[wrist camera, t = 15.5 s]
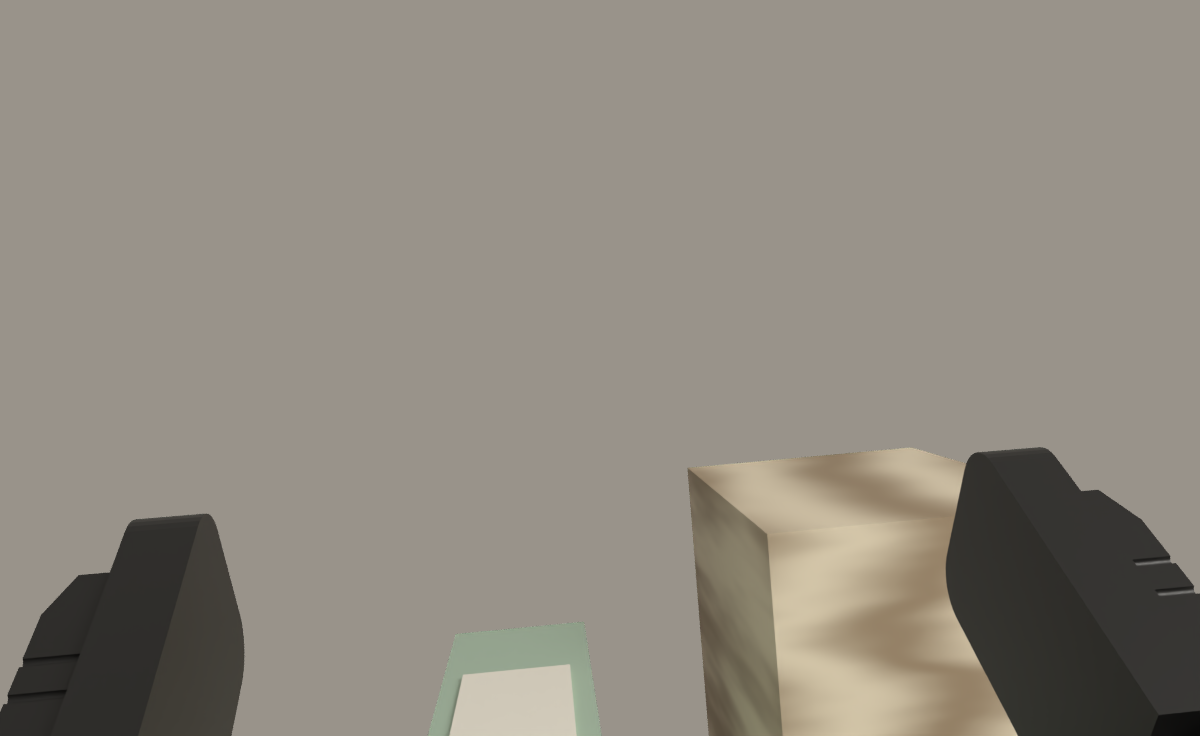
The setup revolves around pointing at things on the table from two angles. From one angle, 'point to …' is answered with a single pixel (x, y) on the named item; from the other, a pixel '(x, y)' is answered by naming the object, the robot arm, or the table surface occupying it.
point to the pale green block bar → (518, 684)
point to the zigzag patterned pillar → (834, 599)
